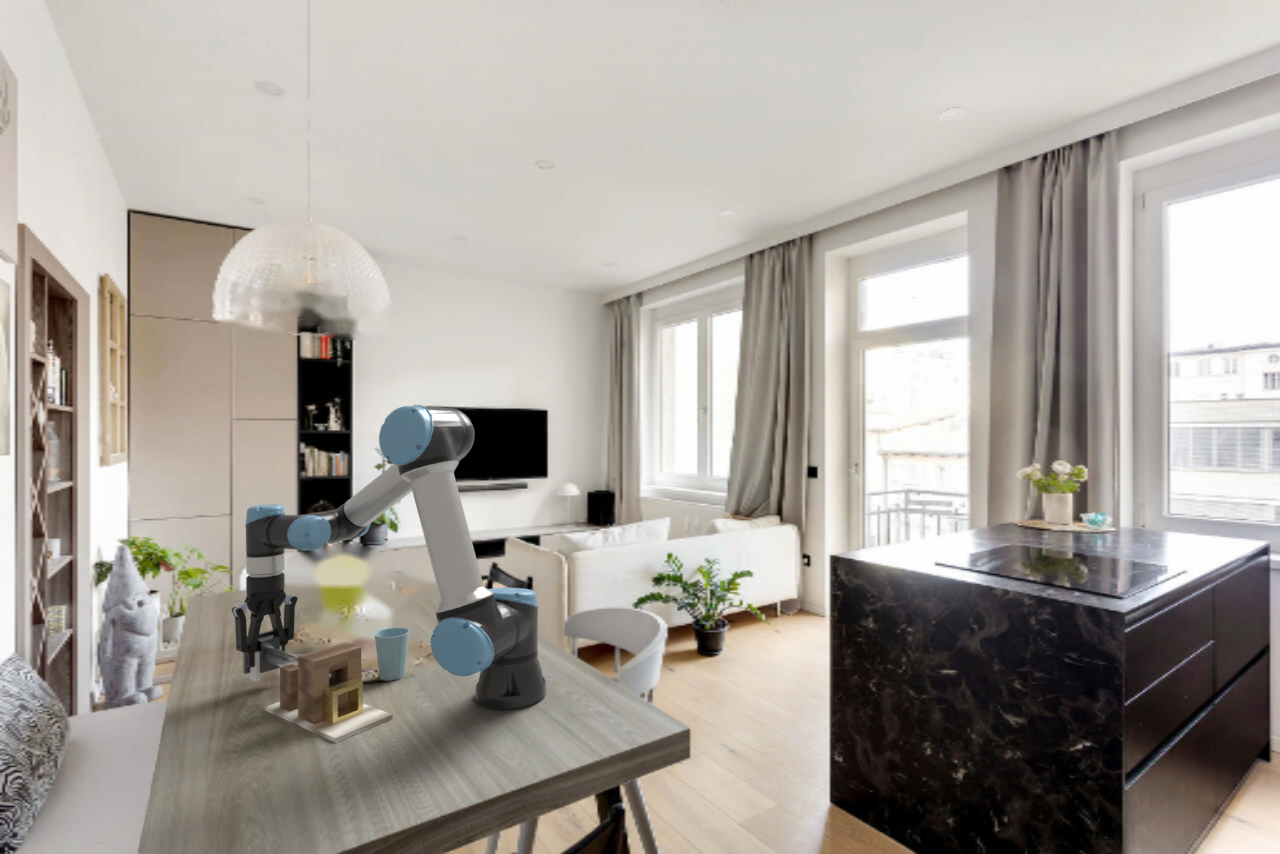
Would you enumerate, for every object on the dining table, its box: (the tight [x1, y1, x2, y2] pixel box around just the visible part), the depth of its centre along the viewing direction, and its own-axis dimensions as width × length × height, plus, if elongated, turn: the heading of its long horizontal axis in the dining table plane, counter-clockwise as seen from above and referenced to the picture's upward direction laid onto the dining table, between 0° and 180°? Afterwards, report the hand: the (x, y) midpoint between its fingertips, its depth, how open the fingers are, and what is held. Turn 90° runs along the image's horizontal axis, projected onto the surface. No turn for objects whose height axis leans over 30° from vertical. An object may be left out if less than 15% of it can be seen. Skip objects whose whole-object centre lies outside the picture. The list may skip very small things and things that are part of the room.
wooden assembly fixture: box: [264, 641, 394, 743], centre depth 131 cm, size 26×12×13 cm, turn 56°
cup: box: [374, 627, 410, 682], centre depth 151 cm, size 8×8×10 cm
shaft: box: [242, 629, 338, 684], centre depth 138 cm, size 29×7×8 cm, turn 56°
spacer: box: [324, 678, 364, 725], centre depth 128 cm, size 3×6×6 cm, turn 146°
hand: (266, 676), depth 145 cm, fingers closed on shaft, 4 cm apart
